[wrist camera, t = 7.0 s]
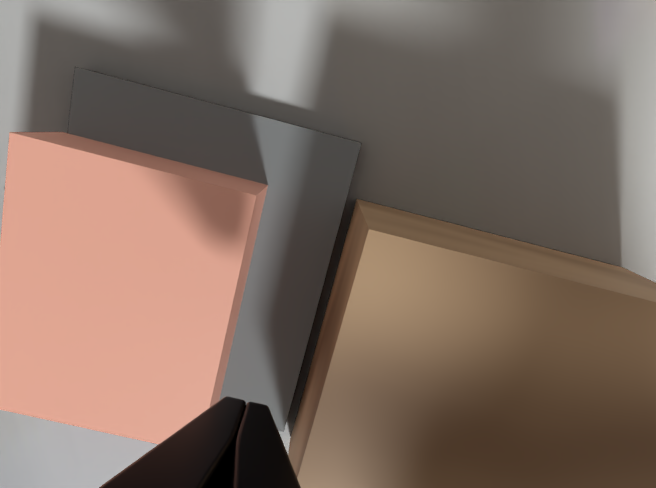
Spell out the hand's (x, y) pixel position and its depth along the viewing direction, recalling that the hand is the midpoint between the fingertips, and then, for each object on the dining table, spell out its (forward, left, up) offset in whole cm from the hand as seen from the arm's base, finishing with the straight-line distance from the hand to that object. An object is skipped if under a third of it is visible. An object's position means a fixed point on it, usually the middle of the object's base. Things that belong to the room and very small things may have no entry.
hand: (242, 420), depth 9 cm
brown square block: (0, -5, -5) cm, 7 cm away
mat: (+1, +3, -5) cm, 6 cm away
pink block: (0, +4, -3) cm, 5 cm away
